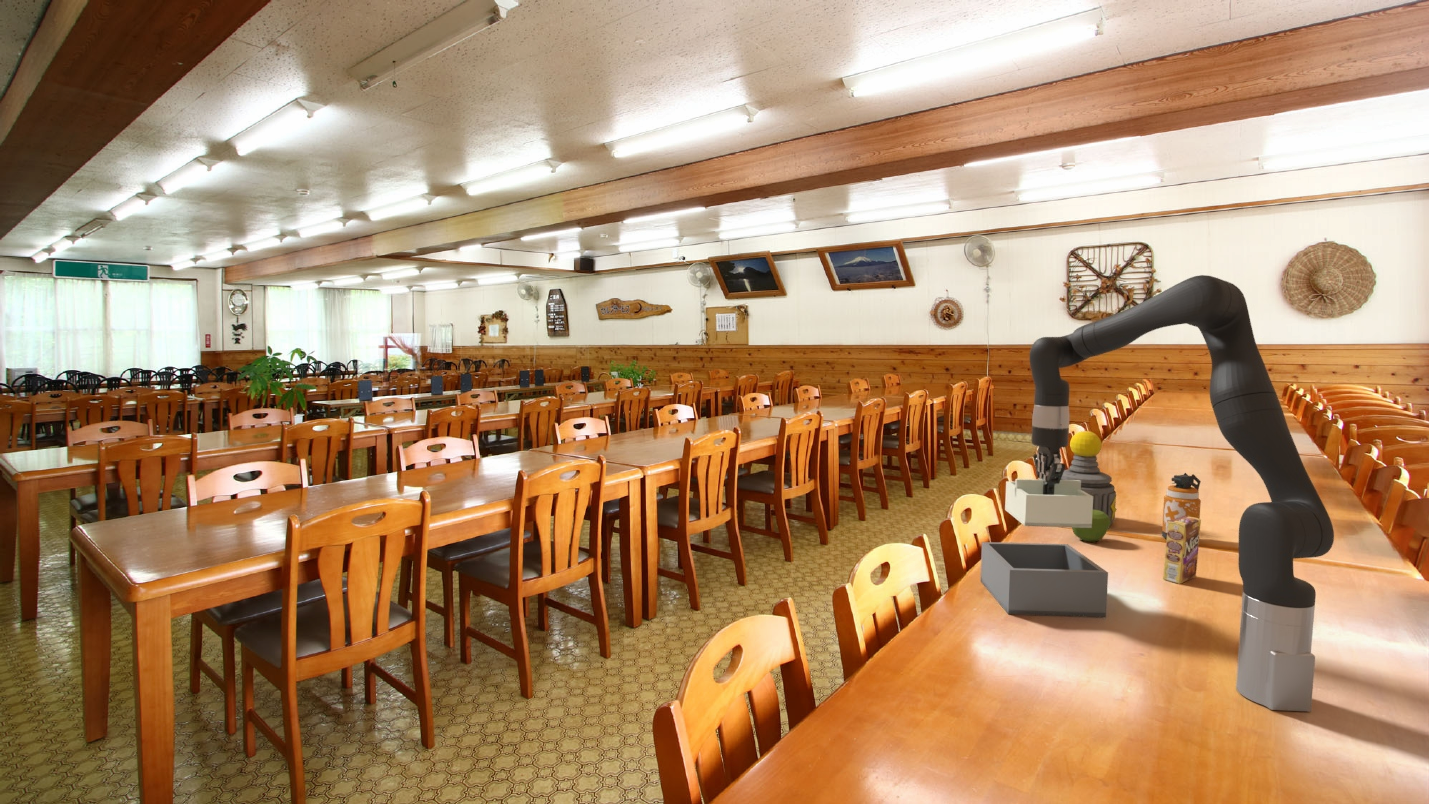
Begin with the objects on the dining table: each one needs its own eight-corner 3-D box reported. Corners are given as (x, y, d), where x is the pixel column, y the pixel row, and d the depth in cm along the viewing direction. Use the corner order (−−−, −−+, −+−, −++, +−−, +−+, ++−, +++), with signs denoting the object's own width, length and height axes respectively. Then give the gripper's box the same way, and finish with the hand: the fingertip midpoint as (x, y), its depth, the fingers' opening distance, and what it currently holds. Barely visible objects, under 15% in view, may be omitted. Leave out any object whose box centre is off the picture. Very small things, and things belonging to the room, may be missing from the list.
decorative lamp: (1064, 510, 237) (1068, 425, 234) (1124, 521, 223) (1128, 431, 220) (1040, 519, 225) (1044, 430, 222) (1101, 532, 211) (1106, 436, 208)
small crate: (1091, 527, 148) (1093, 487, 147) (1024, 526, 150) (1026, 486, 149) (1065, 511, 162) (1067, 474, 161) (1005, 509, 163) (1006, 473, 163)
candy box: (1181, 585, 165) (1185, 524, 164) (1162, 580, 169) (1165, 520, 167) (1197, 577, 170) (1201, 518, 169) (1178, 573, 174) (1182, 514, 172)
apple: (1072, 544, 198) (1073, 510, 198) (1064, 534, 209) (1066, 502, 208) (1113, 547, 195) (1115, 513, 194) (1104, 537, 205) (1105, 504, 204)
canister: (1155, 538, 204) (1158, 472, 202) (1177, 533, 209) (1181, 469, 207) (1186, 546, 196) (1190, 478, 194) (1209, 541, 201) (1213, 474, 199)
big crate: (1105, 617, 146) (1108, 572, 145) (1008, 614, 148) (1009, 569, 147) (1065, 583, 166) (1067, 544, 166) (980, 581, 168) (981, 542, 167)
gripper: (1080, 429, 147) (1076, 507, 148) (1056, 421, 160) (1052, 493, 162) (1044, 428, 147) (1040, 506, 149) (1022, 421, 161) (1019, 492, 162)
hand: (1046, 499), depth 155 cm, fingers closed on small crate, 1 cm apart
